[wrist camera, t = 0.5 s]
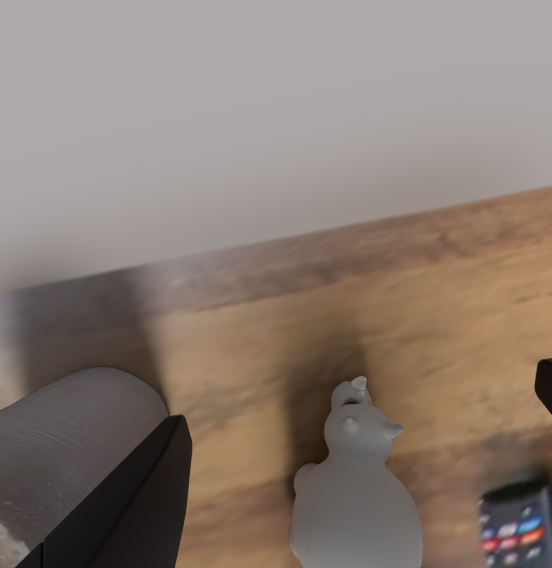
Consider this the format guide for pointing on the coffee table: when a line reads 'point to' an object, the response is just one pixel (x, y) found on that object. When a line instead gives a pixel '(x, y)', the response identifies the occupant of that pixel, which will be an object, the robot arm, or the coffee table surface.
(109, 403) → the pillar candle
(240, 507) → the coffee table surface
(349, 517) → the chubby cartoon animal
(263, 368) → the coffee table surface
